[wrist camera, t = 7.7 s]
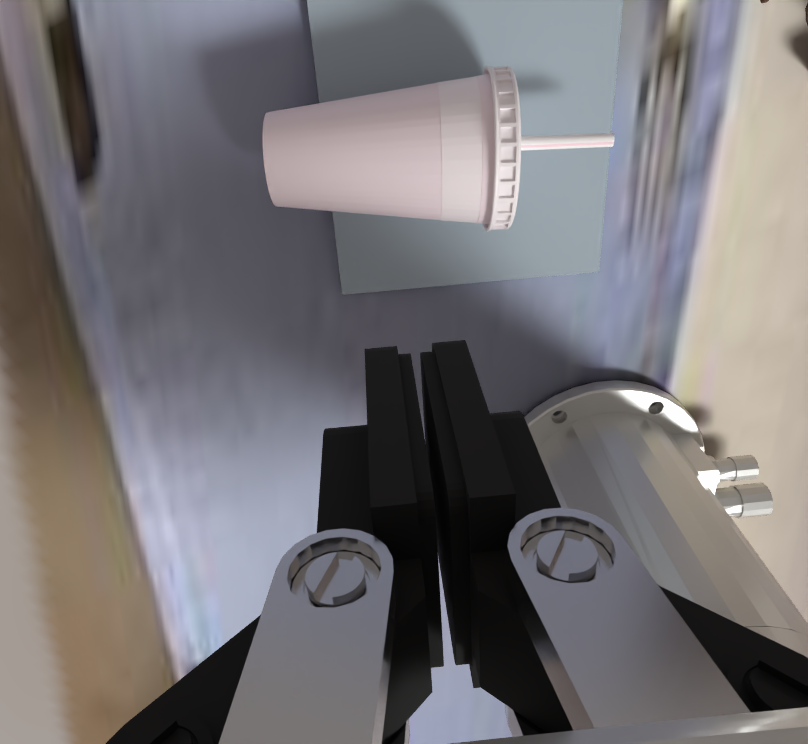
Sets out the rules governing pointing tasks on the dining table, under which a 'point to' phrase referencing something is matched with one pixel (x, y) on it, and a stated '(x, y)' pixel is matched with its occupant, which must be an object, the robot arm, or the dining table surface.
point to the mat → (540, 115)
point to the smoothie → (410, 152)
